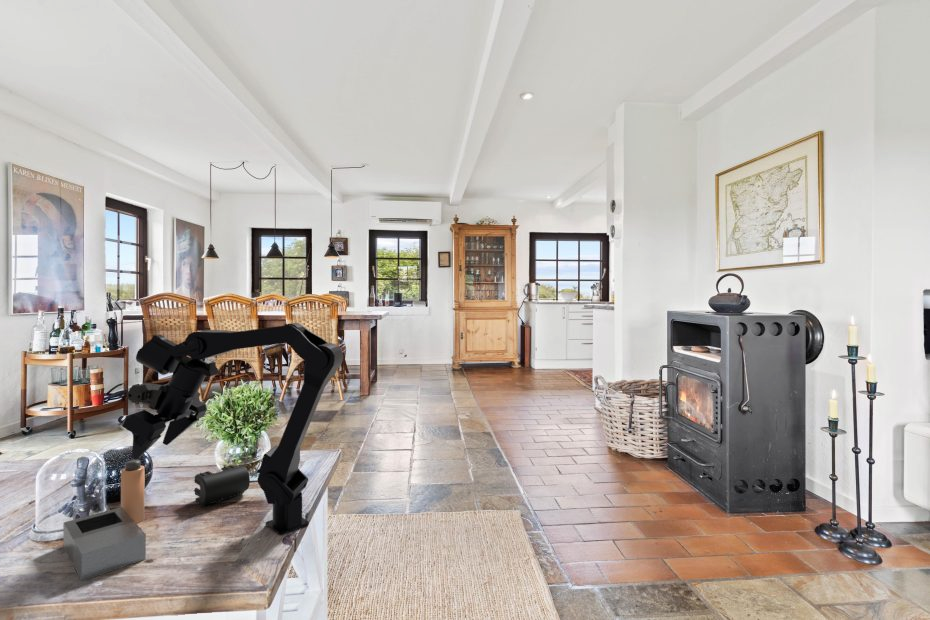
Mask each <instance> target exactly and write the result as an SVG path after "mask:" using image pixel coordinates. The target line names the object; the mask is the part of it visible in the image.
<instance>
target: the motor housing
mask: <svg viewBox="0 0 930 620" xmlns="http://www.w3.org/2000/svg"><path fill="white" fill-rule="evenodd" d="M62 528H63V534H62V535H63V543H62V544H63V548H64V551H65V553H66V554H67V556H68V557H69V560H70V562H71V564H72V566H73V568H74V569H75V571H76V573H77V575H78V577H79V579H80V581H81V582H83V581H86V580H89V579H92V578H96V577H99V576H100V575H104V574H107V573H111V572H112V571H115V570H118V569H121V568H124V567H126V566H131V565H132V564H135V563H138V562H140V561H144V560H146V558H147V556H146V555H147V553H146V549H147V548H146V546H147V545H146V543H147V542H146V541H147V540H146V539H147V535H146V533H145V531H144V530H143V529H142V527H140V526H139V525H138V523H137V524H136V523H135V522H134V520H133V519H132V518H131V517H130V516H129V515H128V514H127V513H126V511H125V510H124V509H123V508H122V507H121V506H120V507H117V508H113V509H109V510H104V511H102V512H98V513H95V514H94V513H93V514H90V515H87V516H83V517H79V518H75V519H71V520H68V521H63V526H62Z"/></svg>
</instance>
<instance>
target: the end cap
mask: <svg viewBox="0 0 930 620" xmlns="http://www.w3.org/2000/svg"><path fill="white" fill-rule="evenodd" d="M220 470H221V471H217V472H214V473H213V472H211V471H205V472H200V473H196V474H195V476H194V481H193V482H194V483H195V484H196V485H198V486H199V488H198V487H194V490H193V492H194V494H195V496H197V497H195V502H196V503H198V505H200V506H202V507H204V506H207V505H212V504H215V503H217V502H220V501H224V500H227V499H230V498H233V497H236V496H239V495H242V494H244V493H245V492H246V491H248V489H249V487H250V485H251V484H250V483H251V479H250V473H249V470H248V468H247V467H246V466H245V465H240V466H235V465H233V464H229V465H227V466H222V467H221V469H220Z"/></svg>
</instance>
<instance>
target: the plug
mask: <svg viewBox="0 0 930 620" xmlns="http://www.w3.org/2000/svg"><path fill="white" fill-rule="evenodd" d="M124 465H125V467H124V468H122V469H121V470H120V507H122V508H123V509H124V510H125V511H126V513H127V514H128V515H129V516H130V517H131V518H132V519H133V520H134V522H135V523H136V524H137V525H138V524H140V523H141V522H143V521H144V520H145V485H146V484H145V475H146V473H145V466H144V465H142V464H141V460H140V459H137V460H136V459H131V460H128V461H126V462H125V464H124Z"/></svg>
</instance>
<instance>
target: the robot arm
mask: <svg viewBox="0 0 930 620" xmlns="http://www.w3.org/2000/svg"><path fill="white" fill-rule="evenodd" d="M278 344H287V345H288V346H289V347H291V349H292V350H293V351H294V352H295V354H296V355H297V356H298V357H299V358H301V359H302V360H303V361H304V366H303V368H304V369H303V384H302V387H301V389H300V392H299V394H298V397H297V399H296V402H295V404H294V407H293V409H292V411H291V414H290V417H289V419H288V422H287V424H286V426H285V428H284V431H283V434H282V436H281V438H280V441H279V444H278V445H275V446H273V447H272V448H270V449H269V450H267V452H265V453H264V454H263V457H262V459H261V460H262V461H261V464H260V466H259V468H258V469H257V471H256V473H255V474H258V476H257V484H258V485H259V488H260V489H261V490H262V491H263V493H264V494H263V495H264V496H265V499H266V502H267V504H268V505H269V504H270V505H272V519H270V520H268V521H265V526H266V527H268V528H269V529H271V530H272V531H273V532H275V533H276V534H277V535H280V536H281V535H284V534H288V533H289V532H292V531H294V530H298V529H300V528H302V527H305V526H307V525H309V523H310V521H309V520H308V519H306V518H304V517H303V493H302V491H303V490H304V489H306V487H307V485H308V483H309V478H308V476H306V475H305V474H304V472H303V471H302V470H300V469H299V465H300V461H301V446H302V445H303V443H304V439H305V437H306V435H307V432H308V430H309V427H310V424H311V422H312V420H313V417H314V415H315V412H316V410H317V407H318V405H319V403H320V400H321V398H322V395H323V393H324V390H325V388H326V386H327V385H328V383H330V381H331V380H332V379H333V377H334V376H335V374H336V373H337V371H338V369H339V368H340V366H341V364H343V362H344V352H343V350H342V349H341V347H340V346H339V345H338V344H335V343H333V342H328V341H327V340H326V339H324V338H322V337H321V336H319V335H317V334H315V333H313V332H312V331H311V330H309V329H308V328H306V326H304V325H303V324H301V323H299V322H292V323H287V324H284V325H277V326H271V327H270V326H269V327H263V328H257V329H256V328H254V329H248V330H241V331H239V330H238V331H237V330H236V331H235V330H234V331H233V330H228V329H227V330H226V329H225V330H224V329H208V330H199V331H192V332H191V333H189V334H187V337H185V340H184V341H182V342H180V343H175V342H174V341H172V340H169V339H168V338H167V337H166V336H165V335H162V334H153V335H152V337H151V339H150V340H148V341H147V342H145V343H144V344H143V345H142V346H141V348H139V349H138V350H137V353H136V355H135V360H136V362H137V363H139V364H141V365H143V366H145V367H147V368H148V369H151V370H152V371H154V372H156V373H157V374H159V375H162V376H165V375H168V374H172V375H171V377H170V379H169V381H168V382H167V383H166V384H157V383H150V382H149V383H148V382H147V383H141V384H139V383H137V384H132V385H131V387H130V388H129V389H128V391H127V392H126V396H127V399H128V400H129V401H130V403H133V404H135V403H141V404H148V406H147V407H148V408H149V409H150V410H153V411H154V410H155V412H156V413H157V414H154V413H151V412H150V411H147V410H145V409H143V410H141V411H136V412H133V413H131V414H128V415H126V416H125V417H124V419H123V422H122V423H121V428H124V429H125V430H127V431H129V432H130V433H131V434H132V451H131V458H132V459H133V460H139V459H140V458H141V457H142V456H143V455H144V454H145V453H146V452H147V451H148V450H149V449H151V447H152V446H153V445H154V444H155V443H157V441H158V440H159V439H160V438H161V437H162V433H164V431H165V430H166V432H165V434H164V437H163V441H162V444H163V445H165V446H168V445H170V444H171V443H172V442H173V441H174V440H176V439H177V438H178V437H179V436H181V434H183V433H184V432H185V431H186V430H188V429H189V428H190V427H191V426H193V425H194V424H196V422H198V421H199V420H200V419H201V418H204V417H205V415H206V412H207V411H208V408H207V404H206V403H204V402H202V401H201V400H199V397H200V396H201V392H199V390H200V389H201V386H202V385H203V382H204V381H205V378H206V377H208V378H210V377H213V376H217V375H219V374H220V371H219V369H218V367H217V365H216V364H217V363H216V362H214V361H213V362H210V363H209V362H206V361H205V359H209V358H214V357H218V356H221V355H224V354H227V353H230V352H233V351H235V350H236V351H237V350H240V349H246V348H247V349H248V348H256V347H265V346H270V345H271V346H272V345H278ZM168 423H169V424H168ZM166 424H168V426H167V425H166ZM166 428H167V429H166Z"/></svg>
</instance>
